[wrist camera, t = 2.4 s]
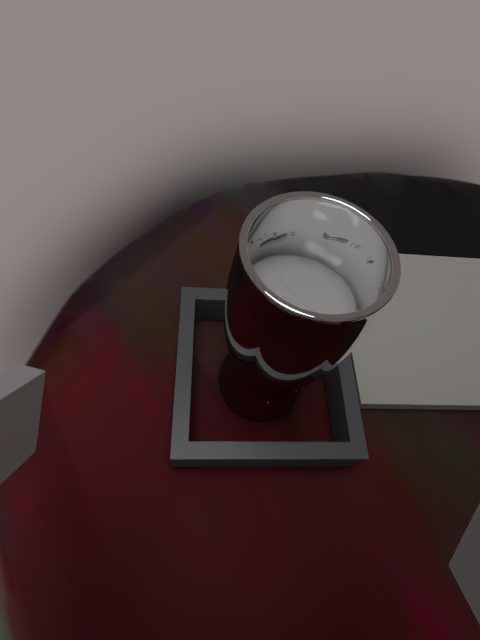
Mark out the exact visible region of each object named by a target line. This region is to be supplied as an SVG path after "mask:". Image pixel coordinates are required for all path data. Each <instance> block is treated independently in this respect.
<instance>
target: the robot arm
mask: <svg viewBox="0 0 480 640" xmlns="http://www.w3.org/2000/svg"><path fill="white" fill-rule="evenodd" d="M44 379H45V371H43V370H40V369H36V368H32V367H29V366H25V365H21V364H20V365H18V366H16V367H14V368H13V369H11V370H9V371H7V372H5V373H4V374H1V375H0V484H1V483H2V482H4V481H5V480H6V479H7V478H8V477H9V476H10V475H11V474H12V473H13V472H14V471H15V470H16V469H17V468H18V467H19V466H20V465H21V464H22V463H24V462H25V461H26V460H27V459H28V458H29V457H30V456H31V455H32V454H33V453H34V452H35V449H36V442H37V434H38V426H39V418H40V410H41V403H42V395H43V387H44ZM448 566H449V568H450V569H451V571H452V573H453V575H454V577H455V579H456V581H457V583H458V585H459V586H460V588H461V590H462V592H463V594H464V596H465V598H466V600H467V602H468V604H469V605H470V607H471V609H472V611H473V613H474V615H475V617H476V619H477V621H478V622H479V624H480V503H479V505H478V507H477V509H476V511H475V513H474V515H473V517H472V519H471V521H470V523H469V525H468V527H467V529H466V531H465V533H464V535H463V537H462V539H461V541H460V543H459V545H458V547H457V549H456V551H455V553H454V555H453V557H452V559H451V561H450V563H449V565H448Z"/></svg>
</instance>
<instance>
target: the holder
mask: <svg viewBox="0 0 480 640" xmlns="http://www.w3.org/2000/svg"><path fill="white" fill-rule="evenodd" d="M225 292H226V289H216V288H196V287H182V293H181V307H180V322H179V337H178V351H177V366H176V381H175V395H174V410H173V424H172V439H171V454H170V461H171V464H172V467H298V466H353V465H355V464H358V463H360V462H363V461H365V460H368V459H369V456H368V451H367V445H366V440H365V434H364V429H363V423H362V417H361V412H360V406H359V401H358V395H357V389H356V384H355V378H354V373H353V367H352V362H351V356H350V354H349V355H348V356H347V357H346V358H345V359H344V360H343V361H342V362H341V363H340V364H339V365H338V366H336V367H335V368H334V369H332V370H331V371H330V372H328V373H327V374H325V375H324V379H325V386H326V393H327V401H328V408H329V415H330V423H331V430H332V437H333V442H189V432H190V410H191V388H192V366H193V344H194V323H195V319H201V320H224V317H223V312H224V301H225Z"/></svg>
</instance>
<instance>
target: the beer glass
mask: <svg viewBox="0 0 480 640" xmlns="http://www.w3.org/2000/svg"><path fill="white" fill-rule="evenodd" d="M400 275H401V265H400V258H399V255H398V251H397V249H396V246H395V244H394V242H393V240H392V238H391V237H390V235H389V234H388V232H387V231H386V230H385V229H384V227H383V226H382V225H381V224H380V223H379V222H378V221H377V220H376V219H375V218H374V217H372V216H371V215H370V214H369V213H367V212H366V211H365V210H363V209H362V208H360V207H358V206H356V205H355V204H353V203H351V202H349V201H346V200H344V199H342V198H339V197H336V196H333V195H329V194H324V193H319V192H309V191H299V192H289V193H284V194H280V195H277V196H274V197H272V198H270V199H268V200H266V201H264V202H262V203H261V204H259V205H258V206H257V207H255V208H254V209H253V210H252V211H251V213H250V214H249V215H248V216H247V218H246V219H245V221H244V223H243V225H242V228H241V230H240V235H239V242H238V245H237V249H236V252H235V255H234V258H233V262H232V265H231V269H230V273H229V277H228V282H227V287H226V292H225V301H224V312H223V317H224V330H225V337H226V343H227V348H228V355H227V356H226V358H225V359H224V361H223V363H222V366H221V369H220V373H219V385H220V390H221V393H222V395H223V397H224V399H225V401H226V402H227V404H228V405H229V406H230V407H231V408H232V409H233V410H234V411H235V412H236V413H238V414H239V415H241V416H243V417H245V418H248V419H251V420H255V421H269V420H274V419H277V418H279V417H281V416H283V415H285V414H286V413H287V412H288V411H290V410H291V408H292V407H293V406H294V404H295V403H296V401H297V399H298V396H299V394H300V390H301V388H302V387H304V386H306V385H308V384H310V383H312V382H314V381H316V380H317V379H319V378H321V377H322V376H324V375H325V374H327V373H328V372H330V371H331V370H332V369H334V368H335V367H336V366H338V365H339V364H340V363H341V362H342V361H343V360H344V359H345V358H346V357H347V356H348V355H349V354H350V353H351V352H352V351H353V349H354V348H355V347H356V346H357V345H358V343H359V342H360V341H361V340H362V338H363V337H364V336H365V334H366V333H367V332H368V330H369V329H370V327H371V326H372V324H373V323H374V322H375V320H376V319H377V317H378V315H379V314H380V312H381V311H382V309H383V308H384V306H385V305H386V304H387V303H388V302H389V301H390V300H391V298H392V297H393V295H394V294H395V292H396V290H397V287H398V284H399V281H400Z"/></svg>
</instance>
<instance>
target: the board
mask: <svg viewBox="0 0 480 640" xmlns="http://www.w3.org/2000/svg"><path fill="white" fill-rule="evenodd" d="M398 255H399V258H400V265H401V275H400V281H399V284H398V287H397V290H396V292H395V294H394V295H393V297H392V298H391V300H390V301H389V302H388V303H387V304H386V305H385V306H384V308H383V309H382V311H381V312H380V314H379V315H378V317H377V319H376V320H375V322H374V323H373V324H372V326H371V327H370V329H369V330H368V332H367V333H366V334H365V336H364V337H363V338H362V340H361V341H360V342H359V343H358V345H357V346H356V347H355V348H354V349H353V351H352V352H351V353H350V356H351V362H352V367H353V373H354V378H355V384H356V389H357V395H358V401H359V406H360V409H427V410H480V259H473V258H457V257H441V256H425V255H409V254H398Z"/></svg>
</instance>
